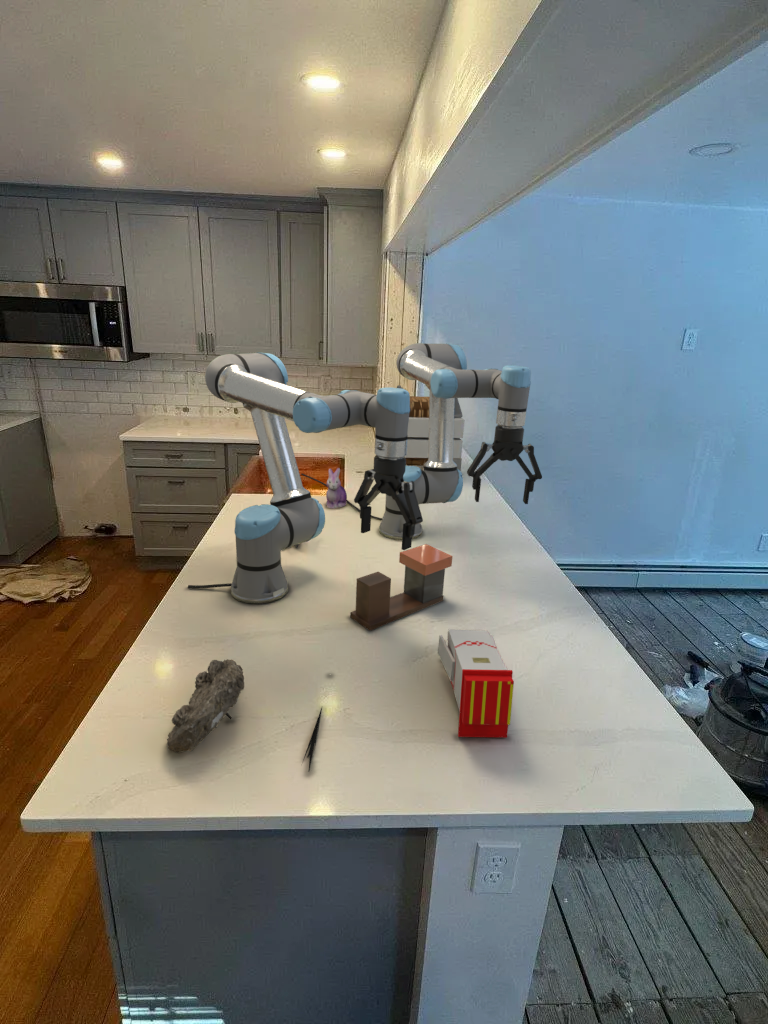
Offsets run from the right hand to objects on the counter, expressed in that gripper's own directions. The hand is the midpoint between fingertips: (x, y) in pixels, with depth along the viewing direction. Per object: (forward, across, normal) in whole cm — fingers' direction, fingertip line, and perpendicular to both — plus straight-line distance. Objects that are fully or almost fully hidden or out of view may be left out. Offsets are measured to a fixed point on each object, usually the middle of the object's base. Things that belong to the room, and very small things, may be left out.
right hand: (500, 501), depth 158 cm
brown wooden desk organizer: (+25, -28, -17) cm, 41 cm away
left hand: (+4, -32, -21) cm, 38 cm away
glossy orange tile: (+16, -21, -11) cm, 29 cm away
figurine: (+26, -51, +63) cm, 85 cm away
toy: (+25, -14, -51) cm, 58 cm away
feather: (+25, -44, -61) cm, 79 cm away
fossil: (+25, -64, -61) cm, 92 cm away
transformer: (+26, -14, +116) cm, 119 cm away
